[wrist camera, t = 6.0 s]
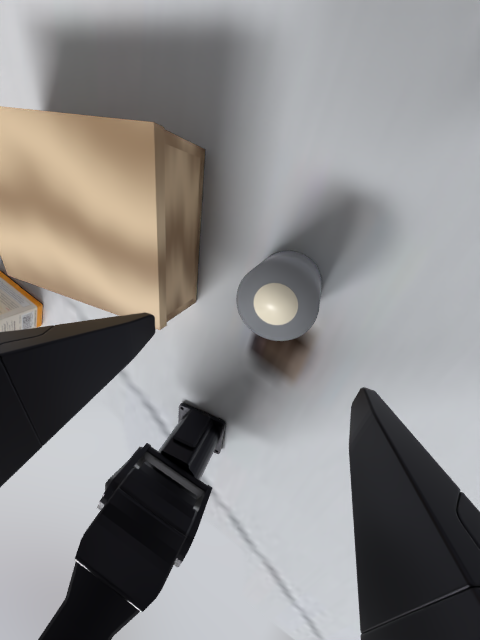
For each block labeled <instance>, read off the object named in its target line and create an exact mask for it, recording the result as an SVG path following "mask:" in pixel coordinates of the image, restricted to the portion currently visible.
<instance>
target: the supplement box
mask: <svg viewBox="0 0 480 640" xmlns="http://www.w3.org/2000/svg"><path fill="white" fill-rule="evenodd" d="M42 313H43V305H42V304H41V303H40V302H39V301H37V300H36V299H35V298H33V297H32V296H31V295H30V294H29V293H27V292H26V291H25V290H23V289H22V288H21V287H20V286H18V285H17V284H16V283H15V282H13V281H12V280H11V279H10V278H8V277H7V276H6V275H5V274H4V273H2V272H1V271H0V332H5V331H14V330H23V329H31V328H37V327H39V326H41V325H42Z"/></svg>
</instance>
